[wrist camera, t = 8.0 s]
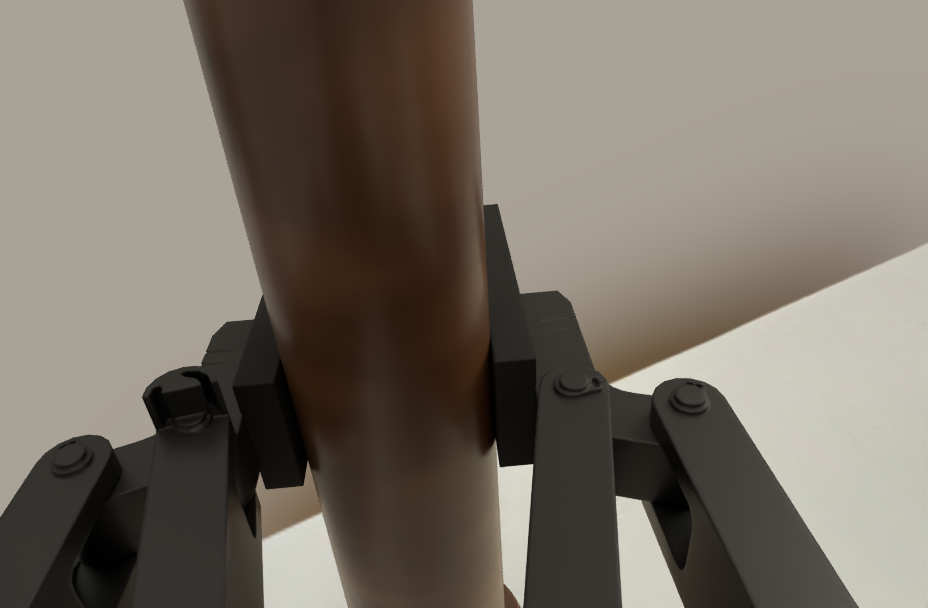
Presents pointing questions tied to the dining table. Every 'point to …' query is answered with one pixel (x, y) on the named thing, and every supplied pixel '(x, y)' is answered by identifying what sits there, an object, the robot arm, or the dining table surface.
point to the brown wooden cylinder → (372, 274)
